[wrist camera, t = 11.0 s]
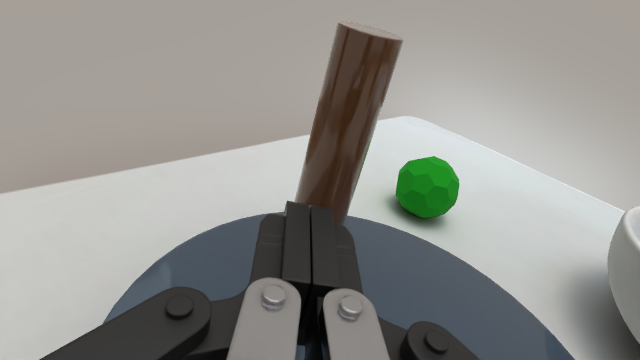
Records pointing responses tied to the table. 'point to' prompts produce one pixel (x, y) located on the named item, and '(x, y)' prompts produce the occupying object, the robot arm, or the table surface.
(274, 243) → the robot arm
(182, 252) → the peg stand
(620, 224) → the serving bowl
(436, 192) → the polyhedron
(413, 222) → the table surface
